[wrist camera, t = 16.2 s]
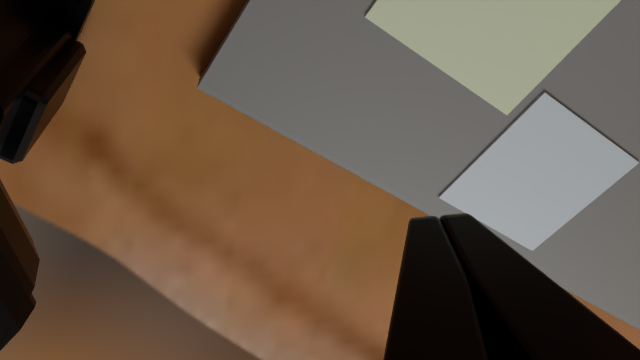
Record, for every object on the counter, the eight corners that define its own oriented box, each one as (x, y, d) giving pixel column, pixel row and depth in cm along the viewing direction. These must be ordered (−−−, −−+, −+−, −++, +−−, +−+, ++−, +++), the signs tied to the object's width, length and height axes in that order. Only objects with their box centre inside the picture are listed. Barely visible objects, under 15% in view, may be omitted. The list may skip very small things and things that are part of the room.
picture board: (199, 78, 20) (196, 89, 19) (454, -345, 14) (463, -352, 13) (642, 324, 30) (650, 337, 30) (904, 151, 24) (924, 163, 23)
